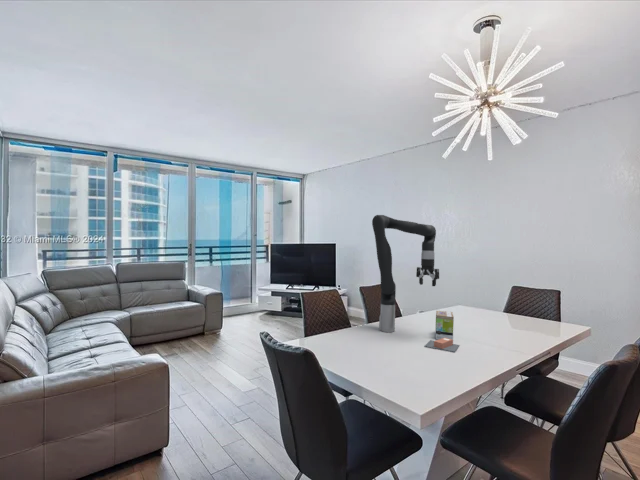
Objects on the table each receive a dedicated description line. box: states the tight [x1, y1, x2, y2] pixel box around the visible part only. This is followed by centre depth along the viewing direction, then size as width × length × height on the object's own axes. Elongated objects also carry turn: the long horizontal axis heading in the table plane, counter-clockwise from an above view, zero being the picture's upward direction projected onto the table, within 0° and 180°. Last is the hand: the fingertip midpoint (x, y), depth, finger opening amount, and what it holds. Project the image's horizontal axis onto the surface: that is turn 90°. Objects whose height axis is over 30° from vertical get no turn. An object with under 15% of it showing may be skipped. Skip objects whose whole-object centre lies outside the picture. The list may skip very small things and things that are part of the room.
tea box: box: [435, 310, 455, 341], centre depth 206 cm, size 15×10×15 cm
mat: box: [423, 339, 460, 353], centre depth 188 cm, size 16×13×1 cm
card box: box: [433, 338, 454, 349], centre depth 187 cm, size 3×5×11 cm
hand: (427, 285), depth 202 cm, fingers open, 8 cm apart
